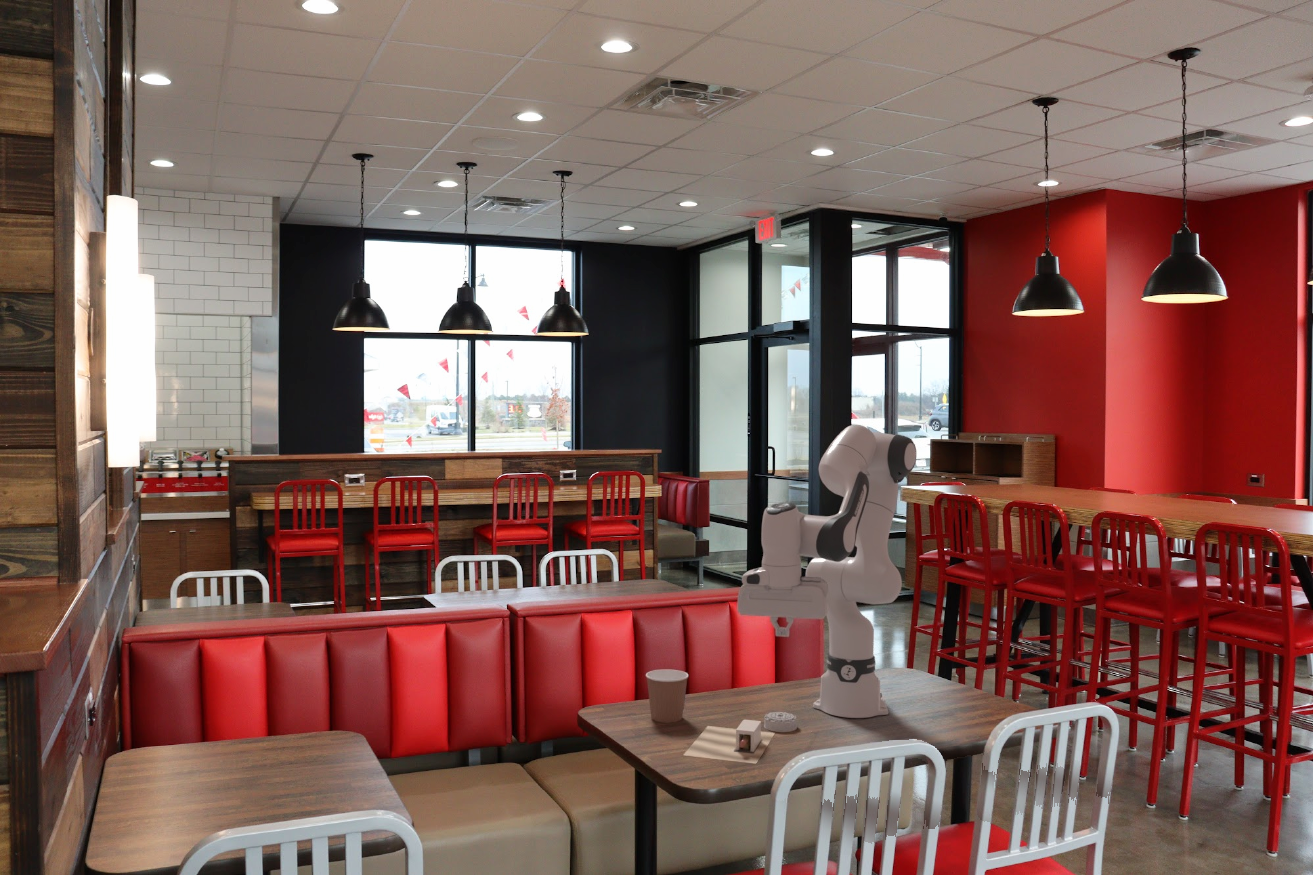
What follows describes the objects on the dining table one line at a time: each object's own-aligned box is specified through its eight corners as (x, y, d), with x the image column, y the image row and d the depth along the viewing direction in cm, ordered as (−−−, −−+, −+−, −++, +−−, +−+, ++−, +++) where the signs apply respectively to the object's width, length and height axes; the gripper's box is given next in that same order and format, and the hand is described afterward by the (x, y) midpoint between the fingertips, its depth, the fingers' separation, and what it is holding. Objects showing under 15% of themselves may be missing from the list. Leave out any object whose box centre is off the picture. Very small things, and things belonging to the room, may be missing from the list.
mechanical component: (757, 739, 237) (800, 742, 235) (757, 720, 237) (800, 723, 235) (760, 726, 247) (802, 729, 245) (761, 708, 247) (802, 711, 245)
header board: (707, 732, 241) (708, 713, 241) (775, 739, 236) (775, 719, 236) (682, 762, 220) (683, 741, 220) (756, 770, 215) (756, 749, 215)
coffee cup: (696, 725, 246) (697, 675, 246) (662, 733, 240) (663, 682, 239) (670, 715, 254) (670, 667, 254) (636, 722, 248) (637, 673, 248)
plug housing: (743, 738, 231) (743, 719, 231) (760, 740, 230) (761, 721, 230) (732, 753, 221) (732, 733, 221) (750, 756, 220) (751, 735, 219)
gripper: (829, 574, 231) (830, 634, 232) (741, 571, 237) (742, 630, 238) (825, 580, 225) (826, 642, 226) (734, 576, 231) (736, 636, 232)
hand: (782, 635), depth 232 cm, fingers closed
